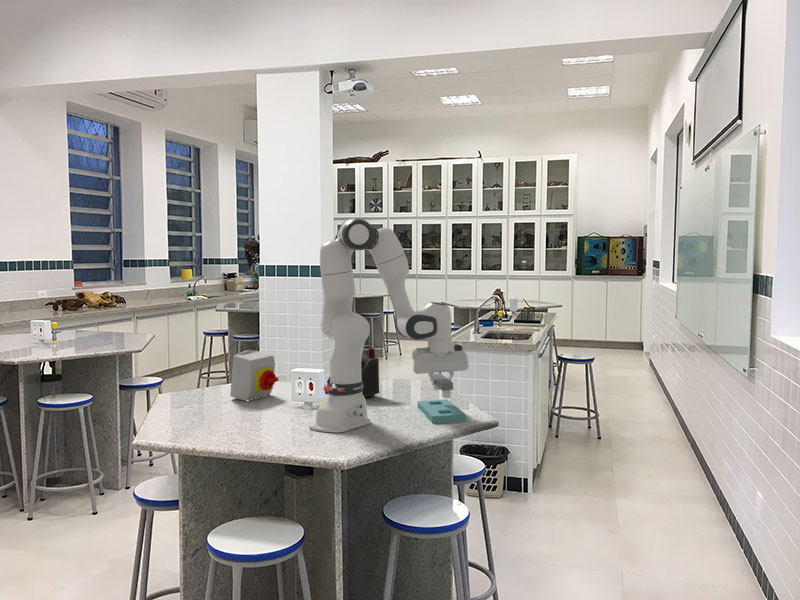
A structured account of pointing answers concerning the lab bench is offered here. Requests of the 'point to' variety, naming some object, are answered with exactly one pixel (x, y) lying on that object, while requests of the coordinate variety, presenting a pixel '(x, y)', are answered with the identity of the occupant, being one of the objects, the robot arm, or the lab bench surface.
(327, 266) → the robot arm
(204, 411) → the lab bench surface
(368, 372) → the voltmeter
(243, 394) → the electrical switch box
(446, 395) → the pin bar
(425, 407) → the mounting plate
